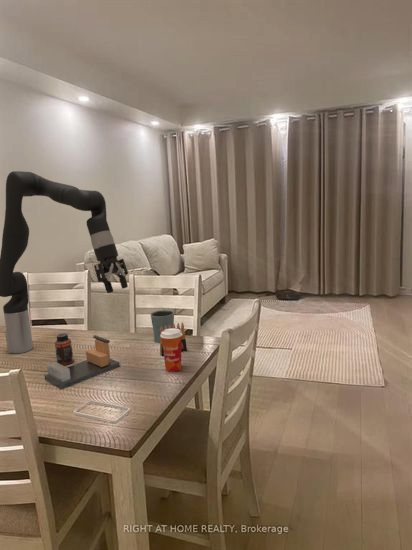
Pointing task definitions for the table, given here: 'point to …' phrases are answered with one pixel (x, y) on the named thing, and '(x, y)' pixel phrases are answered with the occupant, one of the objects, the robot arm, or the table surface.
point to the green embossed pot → (161, 322)
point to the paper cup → (172, 349)
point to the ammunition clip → (183, 340)
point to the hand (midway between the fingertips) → (118, 290)
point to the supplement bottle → (63, 349)
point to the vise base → (75, 372)
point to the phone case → (101, 417)
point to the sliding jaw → (99, 352)
